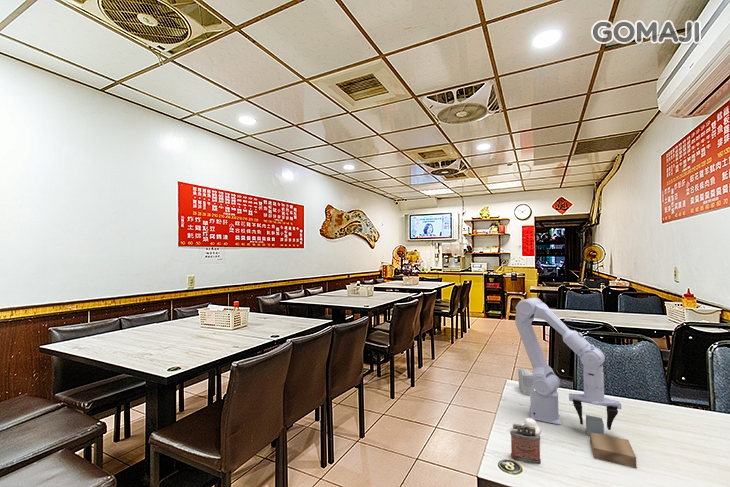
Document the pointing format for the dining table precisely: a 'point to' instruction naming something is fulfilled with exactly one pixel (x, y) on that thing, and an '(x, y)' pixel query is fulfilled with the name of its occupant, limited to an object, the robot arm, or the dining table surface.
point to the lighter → (525, 444)
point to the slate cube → (594, 425)
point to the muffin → (532, 425)
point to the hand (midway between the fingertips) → (594, 425)
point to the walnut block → (612, 449)
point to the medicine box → (525, 381)
